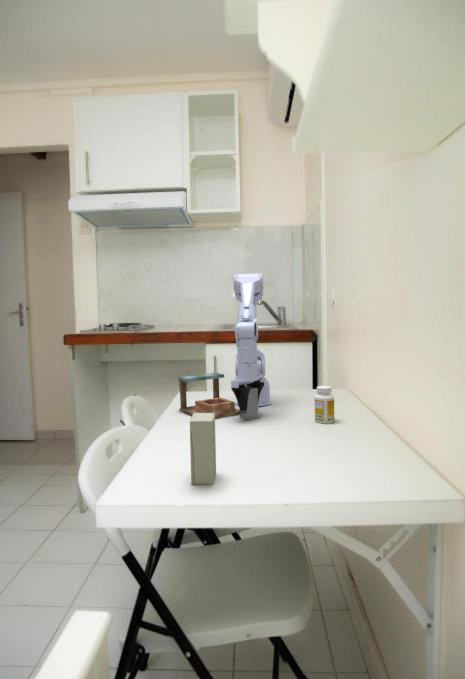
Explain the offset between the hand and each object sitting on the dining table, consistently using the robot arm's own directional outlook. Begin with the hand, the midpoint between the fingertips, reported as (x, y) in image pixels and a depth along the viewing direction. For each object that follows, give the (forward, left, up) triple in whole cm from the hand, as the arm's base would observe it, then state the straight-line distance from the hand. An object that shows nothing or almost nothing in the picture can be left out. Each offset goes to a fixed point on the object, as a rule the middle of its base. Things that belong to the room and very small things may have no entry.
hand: (248, 408), depth 129 cm
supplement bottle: (-15, +16, -3) cm, 22 cm away
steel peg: (0, 0, -3) cm, 3 cm away
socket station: (+6, -13, -3) cm, 15 cm away
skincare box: (+32, +34, -3) cm, 47 cm away
